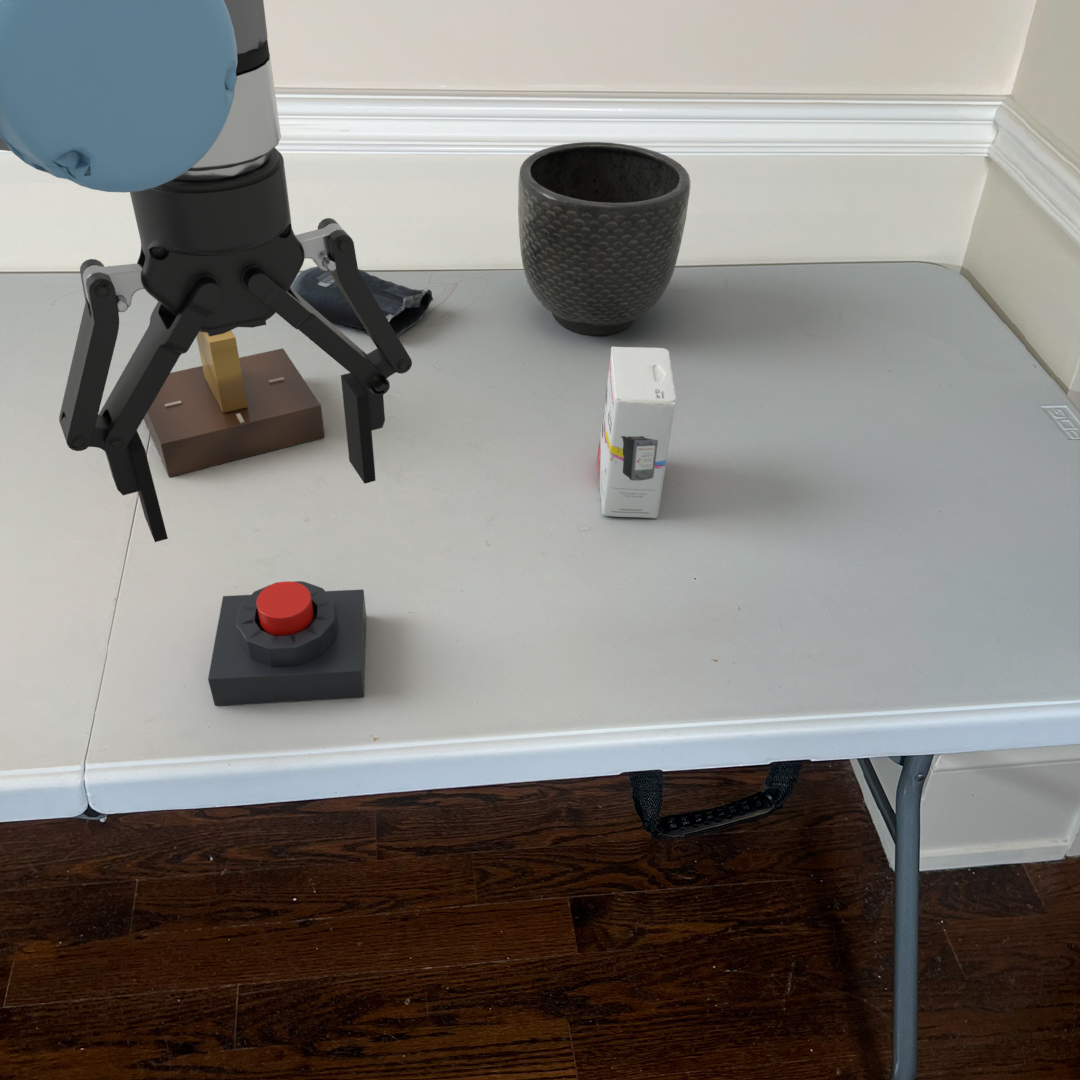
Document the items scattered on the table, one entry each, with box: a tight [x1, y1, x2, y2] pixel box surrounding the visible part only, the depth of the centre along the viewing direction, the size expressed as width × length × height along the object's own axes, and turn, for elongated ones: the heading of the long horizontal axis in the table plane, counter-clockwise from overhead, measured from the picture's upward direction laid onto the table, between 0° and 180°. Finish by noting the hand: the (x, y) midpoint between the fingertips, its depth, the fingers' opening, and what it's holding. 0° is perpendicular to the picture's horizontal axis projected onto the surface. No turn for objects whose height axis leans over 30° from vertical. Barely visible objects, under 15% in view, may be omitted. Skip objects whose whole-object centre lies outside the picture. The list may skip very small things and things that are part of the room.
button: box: [256, 580, 314, 636], centre depth 70 cm, size 4×4×2 cm
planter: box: [517, 141, 691, 336], centre depth 108 cm, size 17×17×16 cm
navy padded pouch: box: [291, 265, 434, 337], centre depth 111 cm, size 9×6×15 cm
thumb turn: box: [196, 330, 248, 413], centre depth 90 cm, size 6×2×7 cm, turn 28°
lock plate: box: [143, 348, 326, 478], centre depth 94 cm, size 14×11×4 cm
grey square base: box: [207, 580, 367, 707], centre depth 72 cm, size 10×8×4 cm
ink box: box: [596, 345, 677, 519], centre depth 86 cm, size 9×5×12 cm, turn 0°
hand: (263, 498), depth 64 cm, fingers open, 12 cm apart
